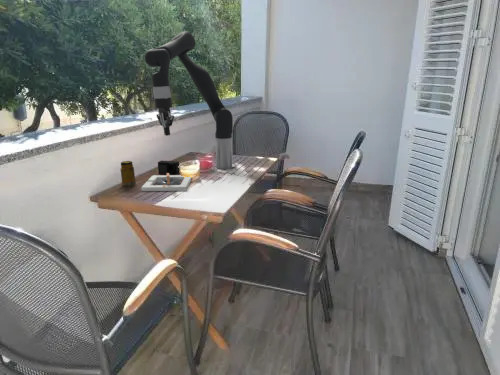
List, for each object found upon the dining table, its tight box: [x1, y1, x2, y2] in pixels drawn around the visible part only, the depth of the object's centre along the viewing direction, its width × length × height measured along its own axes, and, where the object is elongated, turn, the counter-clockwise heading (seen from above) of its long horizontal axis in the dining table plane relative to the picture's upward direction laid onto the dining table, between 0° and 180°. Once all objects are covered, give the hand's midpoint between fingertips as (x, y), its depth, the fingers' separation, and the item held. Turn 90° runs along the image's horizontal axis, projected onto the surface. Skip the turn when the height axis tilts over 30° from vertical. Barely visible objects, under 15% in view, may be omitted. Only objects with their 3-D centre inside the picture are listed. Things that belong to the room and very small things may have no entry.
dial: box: [155, 173, 181, 185], centre depth 168 cm, size 12×11×6 cm
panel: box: [141, 174, 192, 192], centre depth 169 cm, size 20×20×3 cm
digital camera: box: [157, 160, 180, 175], centre depth 188 cm, size 10×5×7 cm, turn 76°
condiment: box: [120, 160, 136, 188], centre depth 167 cm, size 7×8×12 cm
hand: (167, 135), depth 164 cm, fingers closed
